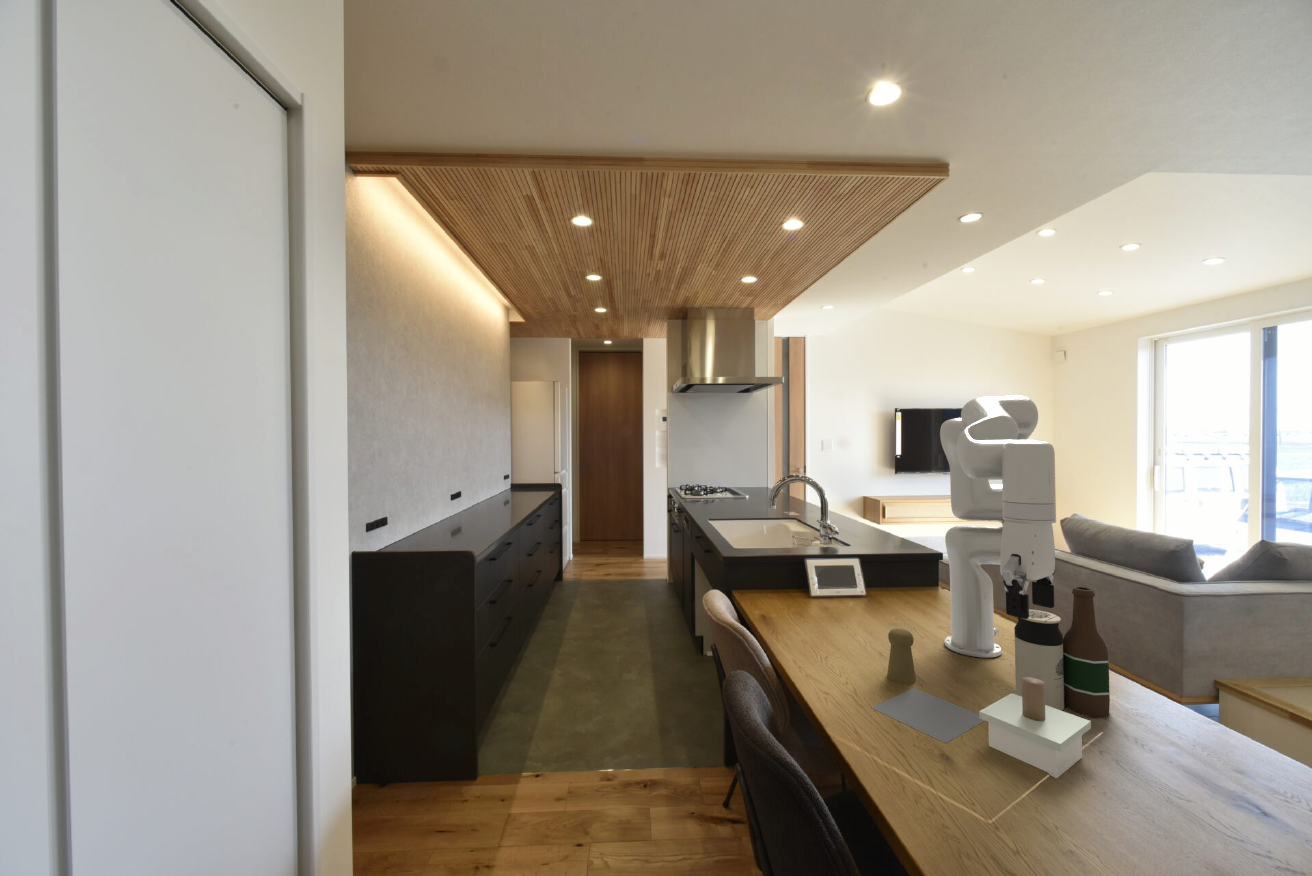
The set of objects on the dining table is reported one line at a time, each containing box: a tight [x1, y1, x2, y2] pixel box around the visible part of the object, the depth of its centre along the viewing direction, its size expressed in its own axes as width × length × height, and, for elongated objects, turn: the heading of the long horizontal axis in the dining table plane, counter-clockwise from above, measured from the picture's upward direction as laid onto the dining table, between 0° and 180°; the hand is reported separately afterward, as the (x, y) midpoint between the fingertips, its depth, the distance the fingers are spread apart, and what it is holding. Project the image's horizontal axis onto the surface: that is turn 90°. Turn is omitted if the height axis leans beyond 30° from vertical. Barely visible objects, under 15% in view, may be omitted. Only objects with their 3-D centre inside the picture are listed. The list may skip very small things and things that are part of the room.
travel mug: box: [1013, 609, 1065, 711], centre depth 106 cm, size 8×8×18 cm
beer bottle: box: [1063, 586, 1111, 719], centre depth 104 cm, size 8×8×24 cm
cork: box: [886, 628, 917, 685], centre depth 118 cm, size 6×6×11 cm
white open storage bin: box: [987, 721, 1083, 779], centre depth 90 cm, size 10×10×5 cm
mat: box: [870, 687, 985, 744], centre depth 102 cm, size 15×15×1 cm
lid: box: [978, 677, 1092, 752], centre depth 90 cm, size 12×12×7 cm
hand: (1030, 611), depth 90 cm, fingers open, 9 cm apart
